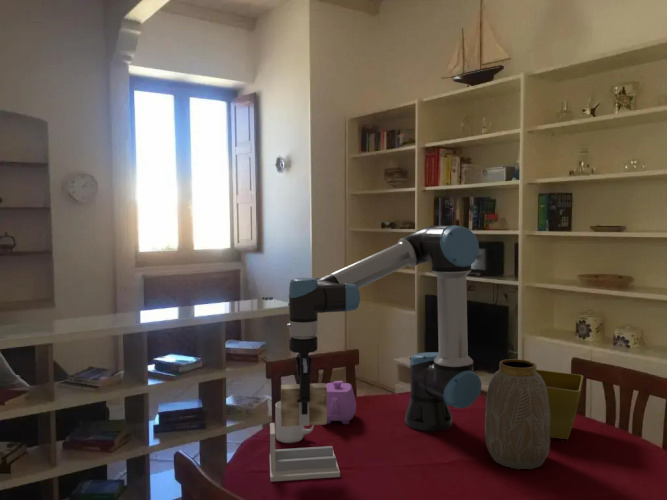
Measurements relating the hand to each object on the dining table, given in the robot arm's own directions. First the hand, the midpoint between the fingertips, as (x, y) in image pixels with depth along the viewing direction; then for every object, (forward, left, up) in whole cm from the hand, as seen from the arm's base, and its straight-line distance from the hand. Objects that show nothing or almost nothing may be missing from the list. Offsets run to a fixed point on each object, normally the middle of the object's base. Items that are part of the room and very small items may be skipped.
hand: (303, 421), depth 148 cm
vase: (-59, +4, -13) cm, 60 cm away
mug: (+1, -20, -13) cm, 24 cm away
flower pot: (-78, -14, -13) cm, 80 cm away
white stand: (0, 0, -13) cm, 13 cm away
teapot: (-14, -34, -13) cm, 39 cm away
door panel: (0, 0, 0) cm, 0 cm away
